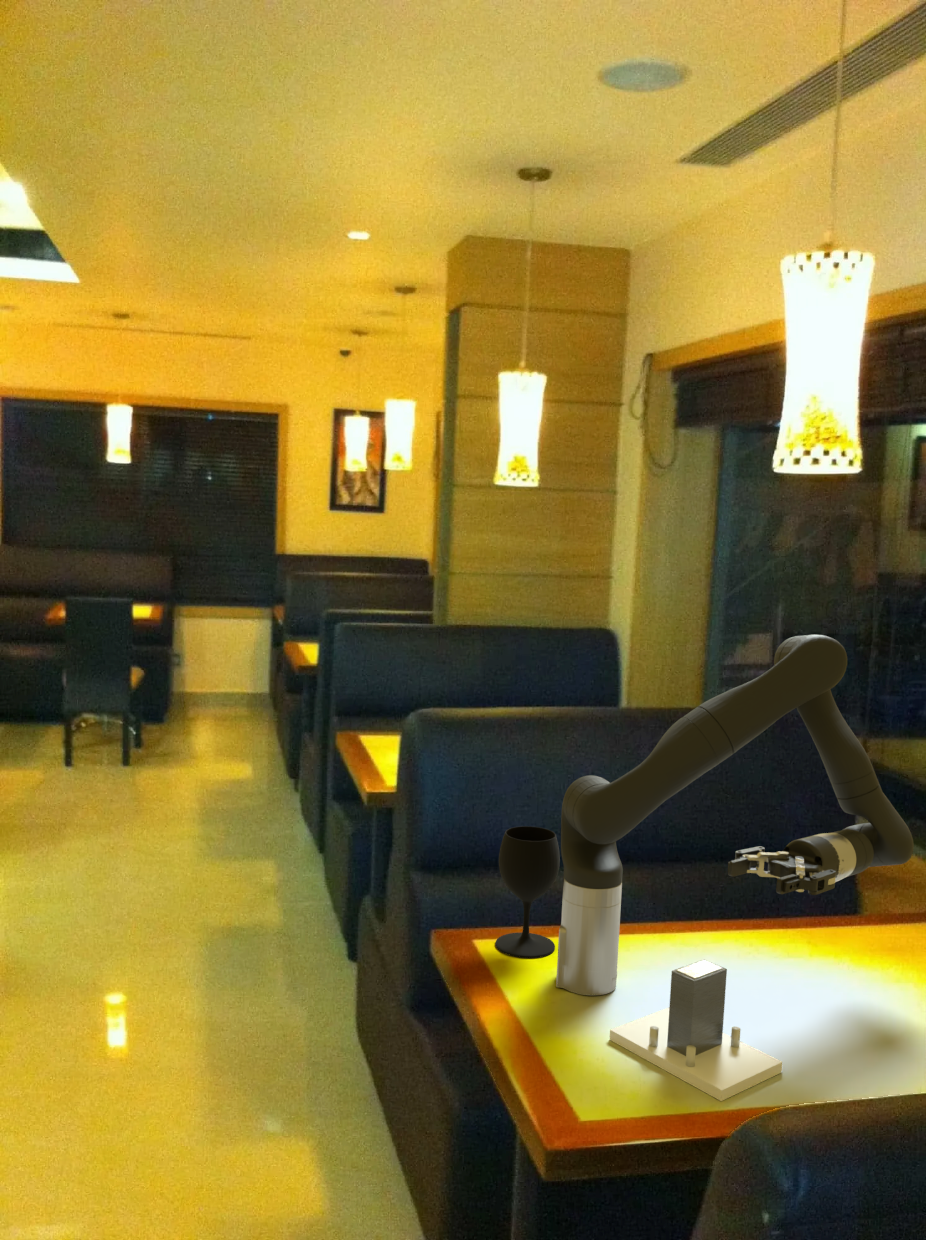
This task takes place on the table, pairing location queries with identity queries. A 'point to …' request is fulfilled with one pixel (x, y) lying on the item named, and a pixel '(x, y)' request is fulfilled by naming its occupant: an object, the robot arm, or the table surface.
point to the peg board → (698, 1057)
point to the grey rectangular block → (696, 1007)
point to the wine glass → (528, 883)
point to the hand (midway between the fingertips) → (753, 878)
